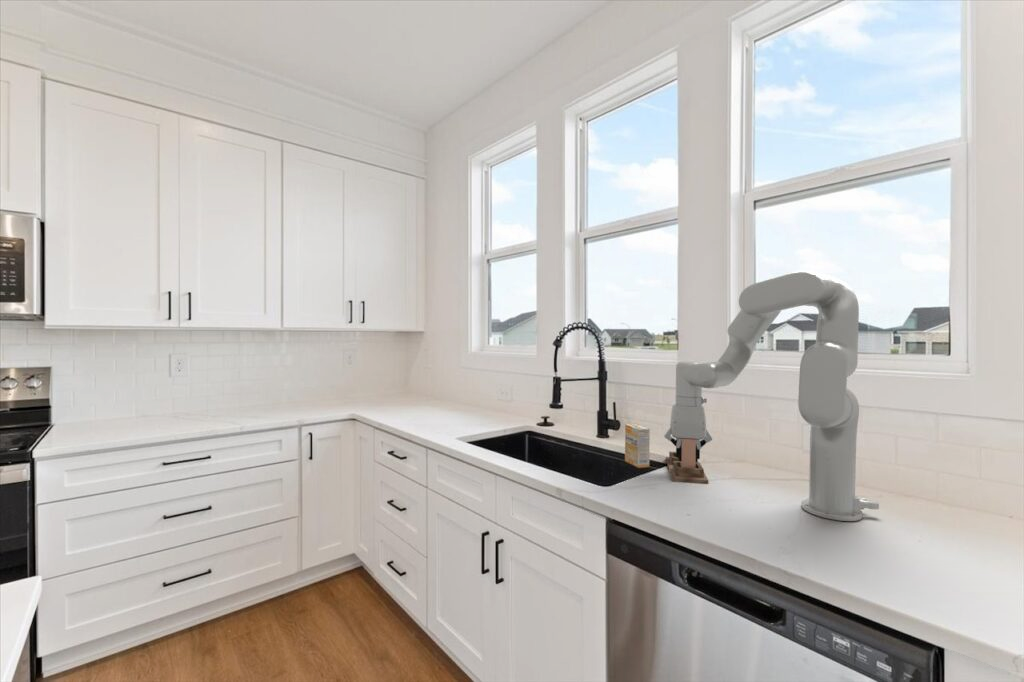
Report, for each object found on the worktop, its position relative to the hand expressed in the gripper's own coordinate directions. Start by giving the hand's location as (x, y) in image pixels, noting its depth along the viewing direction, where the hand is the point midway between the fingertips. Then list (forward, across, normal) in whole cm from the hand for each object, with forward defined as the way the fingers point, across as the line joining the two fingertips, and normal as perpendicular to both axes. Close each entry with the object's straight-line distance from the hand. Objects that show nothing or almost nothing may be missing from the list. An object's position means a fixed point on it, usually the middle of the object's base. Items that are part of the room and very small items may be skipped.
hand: (687, 459), depth 145 cm
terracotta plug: (+2, 0, 0) cm, 2 cm away
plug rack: (+5, 0, -6) cm, 8 cm away
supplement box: (+5, +15, -10) cm, 19 cm away
